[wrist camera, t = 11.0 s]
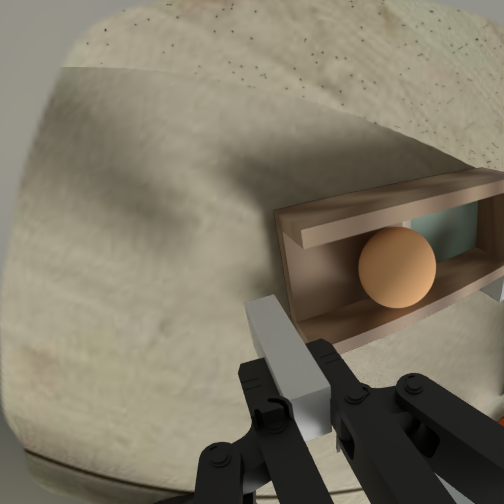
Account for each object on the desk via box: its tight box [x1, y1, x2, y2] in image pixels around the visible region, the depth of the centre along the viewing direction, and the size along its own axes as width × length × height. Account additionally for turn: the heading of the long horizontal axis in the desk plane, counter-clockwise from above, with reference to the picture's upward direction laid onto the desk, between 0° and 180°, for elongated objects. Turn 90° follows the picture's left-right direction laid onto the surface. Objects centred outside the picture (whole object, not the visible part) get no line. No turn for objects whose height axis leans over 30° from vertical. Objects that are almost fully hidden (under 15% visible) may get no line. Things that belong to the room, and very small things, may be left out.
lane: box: [274, 167, 504, 355], centre depth 20 cm, size 20×8×4 cm, turn 101°
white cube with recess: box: [480, 275, 504, 302], centre depth 25 cm, size 4×4×3 cm
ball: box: [358, 227, 436, 308], centre depth 18 cm, size 5×5×5 cm
